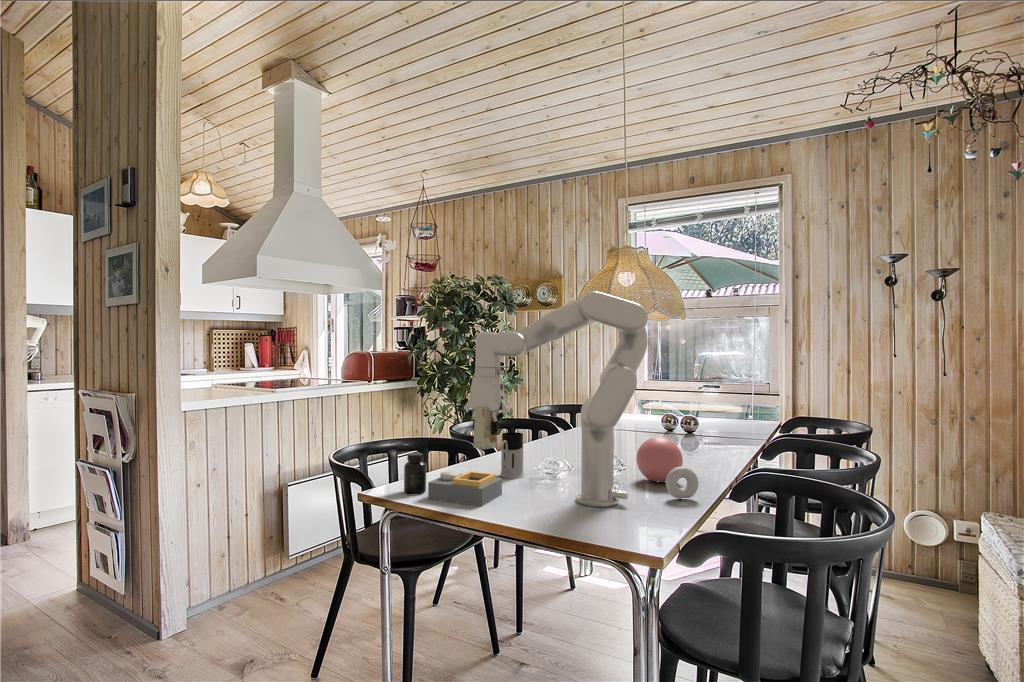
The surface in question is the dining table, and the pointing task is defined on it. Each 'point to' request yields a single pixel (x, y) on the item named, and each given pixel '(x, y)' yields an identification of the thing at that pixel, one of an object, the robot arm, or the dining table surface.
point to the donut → (673, 479)
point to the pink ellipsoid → (658, 458)
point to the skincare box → (483, 429)
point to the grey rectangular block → (465, 487)
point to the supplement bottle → (415, 474)
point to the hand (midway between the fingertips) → (485, 432)
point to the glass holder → (512, 455)
